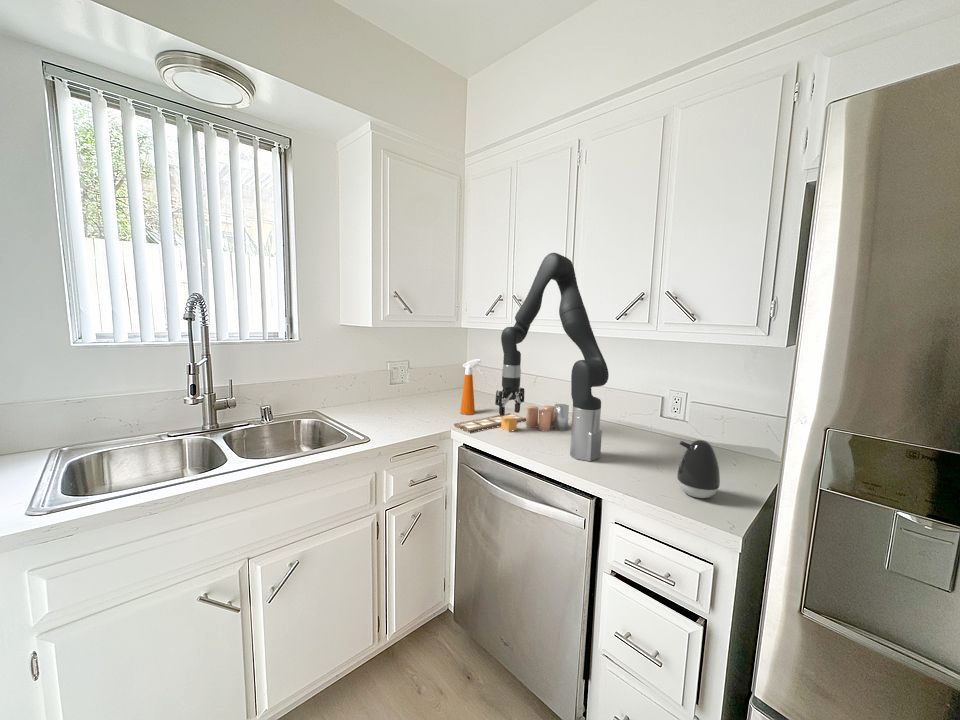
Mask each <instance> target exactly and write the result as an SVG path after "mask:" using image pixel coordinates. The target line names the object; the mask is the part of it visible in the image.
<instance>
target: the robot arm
mask: <svg viewBox="0 0 960 720" xmlns="http://www.w3.org/2000/svg"><path fill="white" fill-rule="evenodd" d="M536 272H537V273H536V275H535V276H534V279H533V282H532V285H531V286H530V289H529V292H528V294H527V296H526V297H525V299H524V300H523V302H522V304H521V306H520V307H519V309H518V310H517V312H516V314H515V316H514V320H515V323H514V325H513V326H507V327H505V328H504V329H503V330H502V332H501V334H500V335H501V336H500V341H501V342H500V343H501V347H502V351H503V360H502V361H503V363H502V371H501V373H502V374H501V387H502V390H496V392H495V402H494V403H495V406H499V407H498V409H499V410H498V411H499V412H498V413H499V415H501V416H504V415H505V414H506V413H505V412H506V411H505V410H506V409H505V408H506V407H505V406H506V405H507V403H508V402H509V401H512V400H513V401H514V413H517V414H519V413H520V411H521V404H522V403H524V402H525V388H523V387H521V374H522V372H521V371H522V370H521V364H522V363H521V361H522V358H521V357H522V354H521V351H520V350H518V348H517V344H520V343H522V342H523V341H524V340H525V338H526V337H527V336H528V332H529V330H530V327H531V324H532V323H533V321H534V320H535V318H537V315H538V314H539V312H540V310H541V308H542V307H541V306H542V302H543V295H544V292H545V289H546V287H547V285H548V284H549V283H550V282H551V280H553V281H555V283H556V284H557V286H558V289H559V292H560V303H559V309H558V314H559V319H560V322H561V325H562V329H563V331H564V332H565V333H566V335H567V336H568V338H570V340H571V341H572V342H573V343H574V344H575V345H576V346H577V348H578V349H579V350H580V352H581V354H582V356H583V359H580V360H577V361H575V362H574V364H573V365H572V369H571V376H570V377H571V381H570V382H571V386H570V387H571V388H570V390H571V392H570V395H571V396H570V397H571V400H572V413H571V429H570V447H569V449H570V450H569V455H570V456H571V458H574V459H576V460H580V461H586V462H587V461H588V462H593V461H595V460H597V459H600V458H601V453H602V452H601V450H602V438H603V437H602V435H603V430H602V429H600V427H601V413H602V400H601V398H599V397H596V396H593V394H592V393H593V391H592V388H597V387H598V388H599V387H602V386H605V385H606V384H607V383H608V380H609V375H610V374H609V369H608V365H607V363H606V360H605V358H604V355H603V354H602V351H601V350H600V347H599V345H598V342H597V340H596V337H595V335H594V332H593V329H592V326H591V323H590V319H589V316H588V313H587V309H586V307H585V305H584V302H583V298H582V295H581V292H580V289H579V287H578V286H579V285H578V282H577V276H576V272H575V267H574V263H573V262H572V261H571V260H570V258H568V257H566V256H564V255H562V254H559V253H557V252H551V253H548V254H547V255H546V256H545V257H544V258H543V260H542V261H541V264H540V266H539V268H538V270H537V271H536Z"/></svg>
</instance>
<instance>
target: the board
mask: <svg viewBox="0 0 960 720" xmlns="http://www.w3.org/2000/svg"><path fill="white" fill-rule="evenodd" d="M508 416H510V417H513V418H516V419H517V422H519V423H522V422H521V421H523V422H526V417H522V416H519V415H516V414H513V413H510V412H509V413H505V415H504V416H501V415H500V414H499V415H493V416H487V417H483V418H478V419H471V420H467V421H462V422H456V423H453V427H454V426H455V428H457V429H459V428H460V429H459V430H462V429H463V430H462V431H464V430H466V431H465V432H467V431H468V432H467V433H469V432H473V433H475V432H474V431H477V432H479V431H478V430H482V429H487V428H491V429H493V428H492V427H496V428H498V427H497V426H500V427H501V418H503V417H508ZM487 430H488V429H487ZM482 431H483V430H482Z"/></svg>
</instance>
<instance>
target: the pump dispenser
mask: <svg viewBox="0 0 960 720" xmlns="http://www.w3.org/2000/svg"><path fill="white" fill-rule="evenodd" d="M679 445H680V446H682V447H684V448H686V450H685V451H684V453H683V455H682V457H681V460H680V462H679V465H678V470H677V473H676V478H677V480H678V485H679V487H680V489H681V490H682V491H683V492H684V493H685V494H686V495H689V496H690V497H693V498H696V499H709V498H711V497H713V496H714V495H715V494H716V493H717V491H718V490H719V488H720V486H721V476H720V475H721V474H720V473H721V471H720V466H719V461H718V458H717V455H716V452H715V450H714V448H713V446H712V445H711V444H710V442H707V441H706V440H702V439H697V440H694V441H692V442H691V443H687V442H685V441H684V440H683V441H682V440H680V442H679Z"/></svg>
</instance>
